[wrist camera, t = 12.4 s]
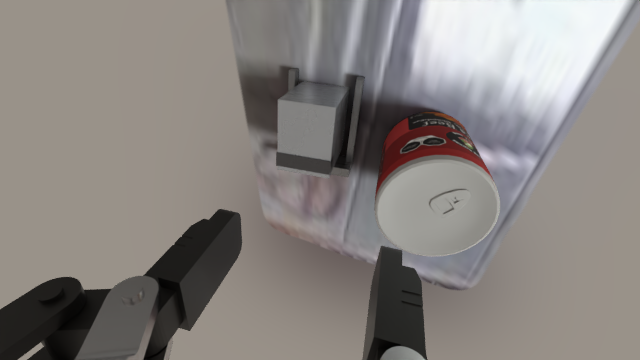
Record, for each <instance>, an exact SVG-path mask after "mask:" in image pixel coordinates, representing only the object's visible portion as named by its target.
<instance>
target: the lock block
mask: <svg viewBox="0 0 640 360" xmlns="http://www.w3.org/2000/svg"><path fill="white" fill-rule="evenodd" d="M349 90H350V87H344V86H336V85H328V84H321V83H313V82H305V81H303V82H301V83H300V84H299V85H297V86H296V87H294V88H293V89H292V90H290V91H289V92H287V93H286V94H285V95H283V96H282V97H281V98H279V99H278V152H277V154H276V166H277V169H278V170H284V171H289V172H295V173H300V174H306V175H312V176H317V177H323V178H328V179H329V177H330V175H331V172H332V170H333V168H334V165H335V163H336V161H337V159H338V156H339V154H340V152H341V149H342V147H343V139H344V131H345V123H346V115H347V106H348V98H349Z"/></svg>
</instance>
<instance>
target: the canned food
mask: <svg viewBox="0 0 640 360" xmlns="http://www.w3.org/2000/svg"><path fill="white" fill-rule="evenodd" d="M499 212H500V198H499V194H498V191H497V187H496V184H495V183H494V181H493V178H492V176H491V174H490V173H489V171H488V169H487V167H486V165H485V164H484V162H483V160H482V158H481V156H480V155H479V153H478V151H477V149H476V147H475V146H474V144H473V142H472V140H471V138H470V137H469V135H468V133H467V131H466V130H465V128H464V126H463V125H462V124H461V123H460V122H459V121H457V120H456V119H454V118H453V117H451V116H448V115H446V114H443V113H437V112H423V113H418V114H415V115H412V116H410V117H407V118H406V119H404V120H402V121H401V122H399V123H398V124H397V125H396V126H395V127H394V128H393V129H392V130H391V131H390V133H389V134H388V136H387V137H386V139H385V141H384V145H383V149H382V155H381V162H380V168H379V175H378V181H377V188H376V196H375V217H376V222H377V224H378V227H379V229H380V231H381V232H382V233H383V235H384V236H385V237H386V238H387V239H388V240H389V241H390V242H391V243H392V244H393V245H395V246H397V247H398V248H400V249H402V250H404V251H407V252H409V253H412V254H417V255H421V256H432V257H434V256H446V255H451V254H456V253H459V252H461V251H464V250H467V249H469V248H470V247H472V246H474V245H476V244H477V243H479V242H480V241H481V240H482V239H484V238H485V237H486V236H487V235H488V234H489V232H490V231H491V230H492V229H493V227H494V225H495V223H496V222H497V219H498V216H499Z"/></svg>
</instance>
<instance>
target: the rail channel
mask: <svg viewBox="0 0 640 360" xmlns="http://www.w3.org/2000/svg"><path fill="white" fill-rule="evenodd" d="M298 77H299V69H297V68H292V69H290V70H289V75H288V92H289V91H290V90H292V89H293V88H294V87H296V86H297V85H298ZM364 79H365V77H361V76H358V77H357V79H356V87H355V94H354V102H353V110H352V117H351V125H350V133H349V140H348V148H347V156H344V155H339V156H338V159H337V161H336V163H335V165H334V168H333V170H332V172H331V174H333V175H338V176H344V177H348V176H349V173H350V170H351V167H352V163H353V156H354V149H355V142H356V135H357V128H358V121H359V114H360V107H361V100H362V93H363V86H364Z"/></svg>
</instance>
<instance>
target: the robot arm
mask: <svg viewBox="0 0 640 360" xmlns="http://www.w3.org/2000/svg"><path fill="white" fill-rule="evenodd" d="M241 246H242V236H241V218H240V214H239V213H236V212H232V211H228V210H223V209H219V210H218V211H217V212H216V213H215V214H214V215H213V216H212V217H211V218H210V219H209V220H207V219H203V220H201V221H199V222H197V223H195V224H194V225H192V226H191V227H190V228H189V229H188V230H187V231H186V232H185V233H184V234H183V235H182V237H180V238H179V239H178V240H177V241H176V242H175V244H174V245H172V246H171V247H170V249H169V250H168V251H167V252H166V253H165V254H164V255H163V256H162V257H161V258H160V259H159V260H158V261H157V262H156V263H155V264H154V265H153V266H152V268H150V269H149V270H148V271H147V273H146V274H145V275H143V276H135V277H132V278H128V279H126V280H124V281H122V282H120V283H118V284H117V285H116V286H114V288H112V289H99V290H98V289H97V290H83V288H82V286H81V283H80V282H79V281H78V280H77V279H75V278H72V277H61V278H56V279H52V280H49V281H47V282H45V283H42V284H40V285H39V286H37V287H35V288H34V289H32V290H31V291H29V292H28V293H26V294H24V295H23V296H21V297H19V298H18V299H16V300H15V301H13V302H12V303H10V304H8V305H7V306H5V307H3V308H2V309H0V360H18V359H19V358H20V357H21V356H23V355H24V354H26V353H27V352H28V351H30V350H31V349H32V348H34V347H35V346H36V345H37V344H39V343H40V342H41V343H42V344H43V346H44V347H43V348H42V349H41V350H39V351H38V352H37V353H35V354H34V355H33V356H32V357H30V358H29V359H27V360H169V356H170V352H171V348H172V344H173V338H172V336H173V335H174V334H175V332H176V330H177V329H178V328H182V329H185V330H188V331H190V330H191V328H192V327H193V325H194V324H195V322H196V321H197V319H198V318H199V316H200V315H201V313H202V311H203V310H204V308H205V307H206V305H207V304H208V302H209V301H210V299H211V298H212V296H213V295H214V293H215V292H216V290H217V289H218V287H219V286H220V284H221V282H222V281H223V279H224V278H225V276H226V275H227V273H228V272H229V270H230V268H231V267H232V266H233V264H234V263H235V261H236V259H237V258H238V256H239V254H240V251H241ZM422 307H423V301H422V285H421V280H420V278H419V276H418V274H417V272H416V270H415V269H414V268H410V267H406V266H402V250H398V249H393V248H389V247H385V246H381V248H380V252H379V256H378V259H377V263H376V267H375V271H374V275H373V280H372V285H371V292H370V300H369V309H368V317H367V326H366V334H365V343H364V352H363V360H427V357H426V350H425V333H424V319H423V318H424V317H423V309H422Z"/></svg>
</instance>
